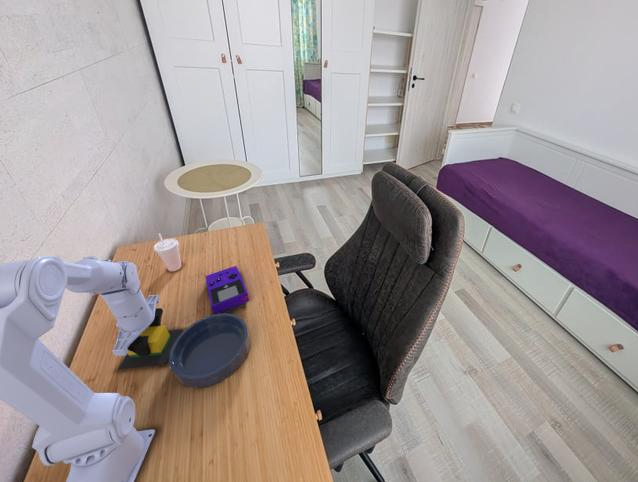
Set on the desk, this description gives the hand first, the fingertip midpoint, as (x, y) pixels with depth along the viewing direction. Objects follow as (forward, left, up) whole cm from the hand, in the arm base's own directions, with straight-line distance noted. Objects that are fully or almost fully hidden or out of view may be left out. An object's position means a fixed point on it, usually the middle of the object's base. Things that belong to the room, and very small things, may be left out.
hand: (150, 344), depth 69 cm
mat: (0, 0, -2) cm, 2 cm away
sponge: (0, 0, -1) cm, 1 cm away
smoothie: (+29, +7, -2) cm, 30 cm away
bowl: (-3, -15, -2) cm, 15 cm away
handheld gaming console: (+16, -13, -2) cm, 21 cm away
